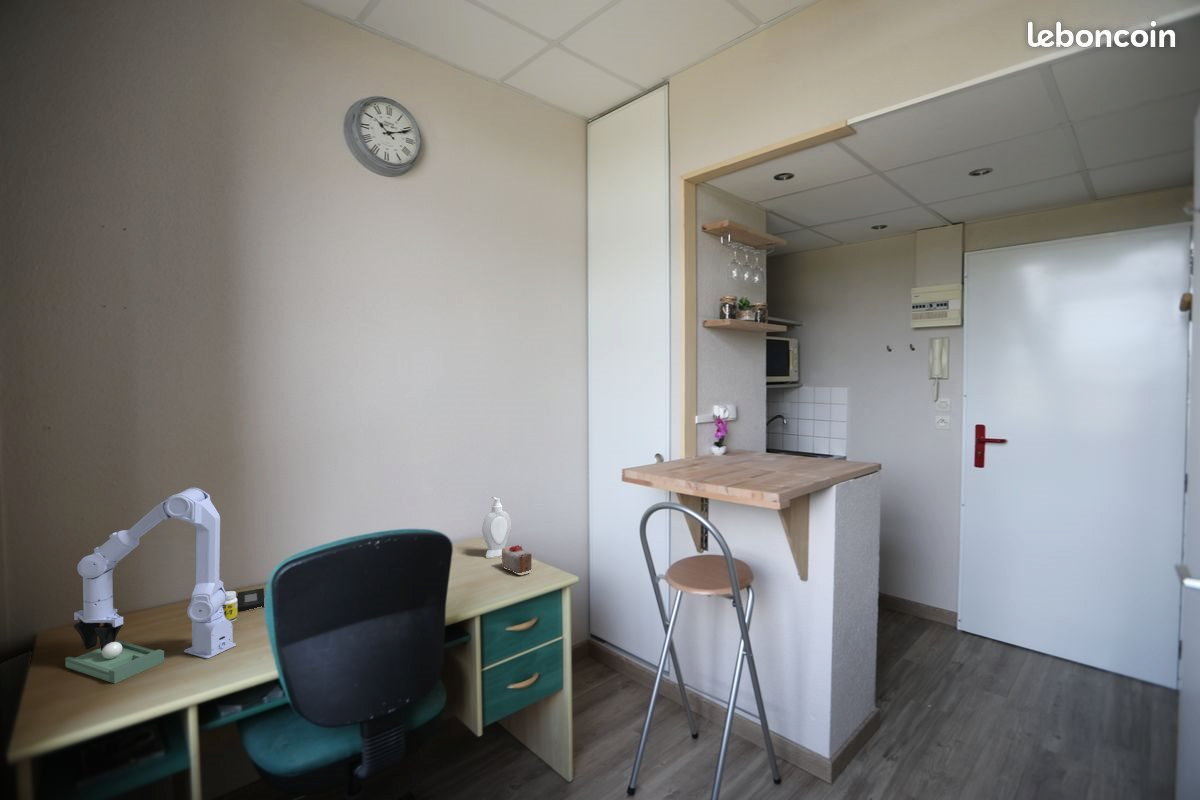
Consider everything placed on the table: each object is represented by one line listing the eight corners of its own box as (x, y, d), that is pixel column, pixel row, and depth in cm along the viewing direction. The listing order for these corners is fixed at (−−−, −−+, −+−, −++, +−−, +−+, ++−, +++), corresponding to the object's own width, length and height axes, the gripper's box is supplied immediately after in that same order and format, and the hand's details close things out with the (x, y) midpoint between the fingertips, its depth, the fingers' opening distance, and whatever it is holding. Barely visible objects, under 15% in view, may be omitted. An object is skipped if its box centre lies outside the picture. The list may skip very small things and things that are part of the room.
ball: (125, 656, 144) (126, 641, 144) (107, 663, 140) (108, 648, 140) (116, 651, 145) (116, 637, 145) (97, 658, 142) (98, 644, 141)
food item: (498, 568, 218) (498, 543, 217) (515, 563, 223) (515, 539, 223) (517, 577, 208) (517, 552, 207) (535, 573, 213) (535, 547, 213)
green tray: (164, 661, 144) (164, 650, 144) (114, 683, 134) (114, 671, 133) (116, 647, 151) (116, 636, 151) (65, 667, 141) (65, 655, 141)
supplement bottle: (216, 624, 165) (215, 597, 165) (222, 618, 170) (221, 591, 170) (234, 622, 167) (234, 595, 166) (239, 616, 171) (239, 589, 171)
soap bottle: (506, 550, 240) (506, 494, 239) (513, 555, 233) (514, 498, 232) (477, 555, 233) (478, 497, 232) (484, 560, 226) (484, 501, 225)
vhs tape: (263, 593, 190) (263, 588, 190) (265, 608, 178) (264, 602, 178) (237, 598, 186) (237, 592, 186) (237, 613, 174) (237, 607, 174)
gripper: (135, 595, 146) (136, 646, 146) (95, 589, 150) (96, 638, 150) (105, 606, 139) (106, 659, 140) (64, 599, 143) (65, 650, 143)
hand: (99, 649), depth 144 cm, fingers open, 5 cm apart
